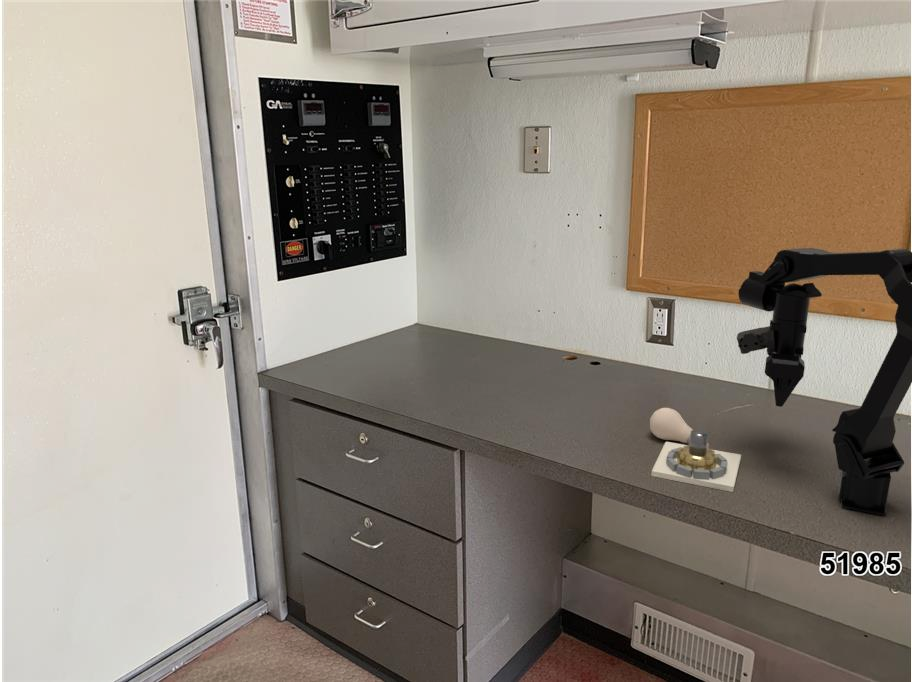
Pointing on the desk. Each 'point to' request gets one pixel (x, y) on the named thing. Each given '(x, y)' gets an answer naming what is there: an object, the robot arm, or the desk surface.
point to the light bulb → (670, 426)
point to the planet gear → (697, 452)
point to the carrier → (713, 478)
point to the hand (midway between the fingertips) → (779, 397)
